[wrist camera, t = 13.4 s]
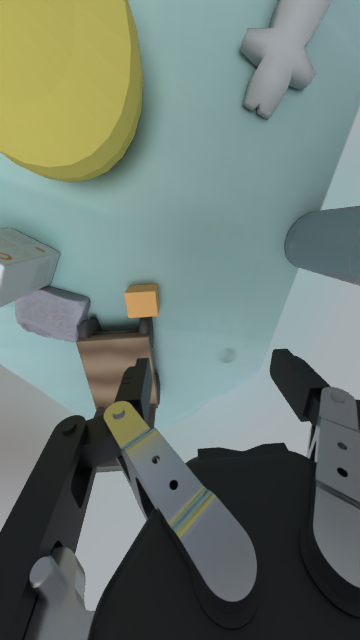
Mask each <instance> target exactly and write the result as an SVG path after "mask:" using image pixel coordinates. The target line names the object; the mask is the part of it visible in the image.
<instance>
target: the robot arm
mask: <svg viewBox="0 0 360 640" xmlns="http://www.w3.org/2000/svg"><path fill="white" fill-rule="evenodd" d="M285 252H286V255H287V258H288V260H289V261H290V262H291V263H292V264H293V265H294V266H297V267H299V268H303V269H306V270H309V271H312V272H316V273H319V274H322V275H325V276H329V277H332V278H336V279H339V280H342V281H346V282H349V283H352V284H356V285H359V286H360V206H355V207H347V208H339V209H329V210H322V211H314V212H311V213H308V214H306V215H304V216H302V217H301V218H300V219H299V220H297V221H296V223H295V224H294V225H293V226H292V228H291V229H290V231H289V233H288V235H287V238H286V242H285ZM270 375H271V378H272V379H273V381H274V382H275V384H276V385H277V387H278V388H279V390H280V391H281V393H282V394H283V396H284V397H285V399H286V400H287V402H288V403H289V405H290V406H291V408H292V409H293V411H294V412H295V414H296V415H297V417H298V418H299V419H300V421H301V422H304V421H310V422H311V424H312V425H311V428H310V436H309V443H308V451H307V457H305V456H303V455H301V454H298V453H296V452H292V451H288V449H287V447H286V445H285V444H284V443H273V444H263V445H260V446H257V447H254V448H252V449H249V450H246V451H236V450H230V449H225V448H205V449H198V457H195V458H193V459H191V460H189V461H188V462H187V463H184V462H183V461H182V459H181V458H180V457H179V456H178V454H177V453H176V452H175V451H174V450H173V449H172V447H171V446H170V445H169V443H168V442H167V441H166V440H165V439H164V437H163V436H162V435H161V434H160V433H159V431H158V430H157V429H156V428H154V427H153V428H151V429H150V428H149V426H148V425H147V423H148V415H149V407H150V399H151V391H152V373H151V366H150V359H149V357H147V358H137V361H136V364H135V366H131V367H128V368H127V370H126V371H125V372H124V374H123V377H122V380H121V383H120V386H119V389H118V392H117V395H116V398H115V401H114V404H112V405H110V406H109V407H108V408H107V409H106V411H105V413H104V414H103V415H101V416H99V417H96V418H93V419H90V420H87V421H86V420H85V418H84V417H82V416H80V415H74V416H70V417H68V418H66V419H64V420H63V421H61V422H60V423H59V424H58V425H57V426H56V427H55V429H54V430H53V432H52V434H51V436H50V438H49V440H48V442H47V444H46V446H45V448H44V450H43V451H42V453H41V455H40V457H39V459H38V461H37V463H36V465H35V467H34V469H33V471H32V473H31V475H30V476H29V478H28V480H27V482H26V484H25V486H24V488H23V490H22V492H21V494H20V496H19V498H18V499H17V501H16V503H15V505H14V507H13V509H12V511H11V513H10V515H9V517H8V519H7V520H6V522H5V524H4V526H3V528H2V530H1V532H0V640H360V400H355V399H354V397H353V396H351V395H350V394H349V393H348V392H346V391H344V390H342V389H339V388H335V387H330V386H329V384H327V382H326V381H324V380H323V379H322V378H321V376H319V375H318V374H317V373H316V372H315V371H314V370H313V369H312V368H311V367H310V366H309V365H308V364H307V363H306V362H305V361H304V360H302V359H301V358H299V357H297V356H294V355H293V354H292V353H291V352H290V351H289V350H288V349H274V350H273V353H272V359H271V365H270ZM115 458H116V460H117V461H118V463H119V465H120V467H121V469H122V471H123V473H124V475H125V476H126V478H127V481H128V482H129V484H130V486H131V488H132V490H133V493H134V495H135V498H136V500H137V502H138V505H139V507H140V509H141V511H142V513H143V515H144V517H145V519H146V523H145V524H144V526H143V528H142V529H141V531H140V532H139V534H138V536H137V537H136V539H135V541H134V542H133V544H132V546H131V547H130V549H129V551H128V552H127V554H126V555H125V557H124V558H123V560H122V562H121V564H120V565H119V567H118V568H117V570H116V571H115V573H114V575H113V576H112V578H111V580H110V581H109V583H108V585H107V586H106V588H105V590H104V592H103V594H102V596H101V598H100V600H99V603H98V605H97V608H96V611H88V610H86V609H85V604H84V592H85V572H84V569H83V568H82V566H81V564H80V562H79V561H78V559H77V557H76V556H75V551H76V548H77V543H78V539H79V536H80V532H81V528H82V524H83V520H84V516H85V513H86V509H87V504H88V501H89V497H90V493H91V489H92V485H93V481H94V478H95V474H96V470H97V466H98V465H100V464H103V463H105V462H108V461H110V460H113V459H115Z"/></svg>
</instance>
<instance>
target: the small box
mask: <svg viewBox="0 0 360 640" xmlns="http://www.w3.org/2000/svg"><path fill="white" fill-rule="evenodd" d="M59 255H60V252H58V251H56V250H54V249H52V248H50V247H48V246H46V245H44V244H42V243H40V242H38V241H36V240H34V239H32V238H30V237H28V236H26V235H24V234H22V233H20V232H18V231H16V230H14V229H12V228H0V307H2V306H4V305H6V304H8V303H10V302H12V301H14V300H17V299H19V298H21V297H23V296H25V295H27V294H30V293H32V292H34V291H36V290H38V289H40V288H42V287H45V286H47V285H49V284H50V283H51V281H52V278H53V275H54V271H55V268H56V265H57V261H58V258H59Z"/></svg>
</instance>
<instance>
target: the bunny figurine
mask: <svg viewBox="0 0 360 640" xmlns="http://www.w3.org/2000/svg"><path fill="white" fill-rule="evenodd" d="M330 2H331V0H279V1H278V3H277V6H276V8H275V10H274V13H273V15H272V18H271V21H270V25H269V28H247V31H246V33H245V36H244V38H243V41H242V45H241V48H240V51H241V52H242V53H243V54H244V55H245V56H246V57H247V58H248V59H249V60H250V61H251V62H252V63H253V64H254V65H255V66H256V67H257V70H256V71H255V73H254V75H253V76H252V78H251V80H250V82H249V84H248V86H247V89H246V93H245V100H244V102H243V106H245V107H246V108H248V109H250V110H252V111H253V110H254V109H255V108H257V114H259V115H260V116H262V117H264V118H265V119H268V118H269V117H270V116H271V115H272V113H273V111H274V109H275V108H276V106H277V105H278V103H279V102H280V100H281V99H282V97H283V95H284V94H285V92H286V90H287V89H288V86H291V87H294V88H297V89H300V90H303V89H304V88H305V87H307V86H308V85H309V84H310V83H311V81H312V79H313V78H314V76H315V74H316V73H315V71H314V69H313V67H312V64H311V62H310V60H309V58H308V56H307V53H306V51H305V48H304V46H305V45H306V43H307V42H308V40H309V39H310V38H311V36H312V35H313V33H314V32H315V30H316V28H317V27H318V25H319V23H320V22H321V20H322V18H323V16H324V14H325V13H326V11H327V9H328V7H329V4H330Z"/></svg>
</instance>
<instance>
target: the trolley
mask: <svg viewBox="0 0 360 640" xmlns="http://www.w3.org/2000/svg"><path fill="white" fill-rule="evenodd" d="M76 344H77V347H78V350H79V354H80V357H81V360H82V364H83V367H84V370H85V374H86V377H87V380H88V383H89V387H90V390H91V393H92V397H93V400H94V403H95V407H96V410H97V411H96V413H95V416H94V418H96V417H99V416H101V415H103V414H104V413H105V411H106V409H107V408H108V407H109V406H110V405H112V404H114V401H115V398H116V395H117V392H118V389H119V386H120V383H121V380H122V377H123V374H124V372H125V371H126V370H127V368H128V367H131V366H135V364H136V361H137V358H147V357H149V359H150V366H151V373H152V391H151V399H150V407H149V415H148V423H147V425H148V426H149V428H150V429H151V428H153V427H154V422H155V411H156V408H158V405H159V403H160V382H159V376H158V375H155V370H154V362H153V355H152V347H153V324H152V318H151V317H140V325H139V330H126V331H110V332H101V328H100V325H99V323H98V321H97V320H96V319H87V320H83V321H82V322H81V324H80V328H79V339H78V340H77V341H76ZM110 471H122V469H121V467H120V465H119V463H118V461H117V460H116V458H115V459H113V460H110V461H108V462H105V463H103V464H100V465H98V466H97V470H96V473H97V472H110Z"/></svg>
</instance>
